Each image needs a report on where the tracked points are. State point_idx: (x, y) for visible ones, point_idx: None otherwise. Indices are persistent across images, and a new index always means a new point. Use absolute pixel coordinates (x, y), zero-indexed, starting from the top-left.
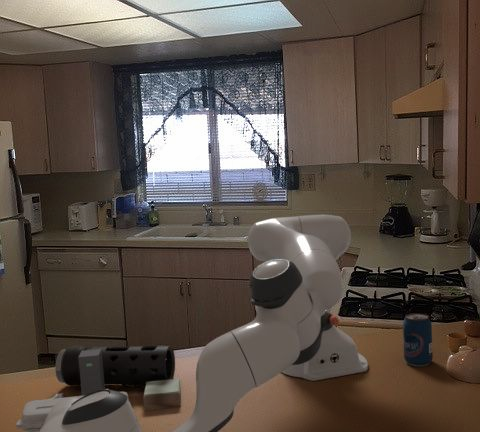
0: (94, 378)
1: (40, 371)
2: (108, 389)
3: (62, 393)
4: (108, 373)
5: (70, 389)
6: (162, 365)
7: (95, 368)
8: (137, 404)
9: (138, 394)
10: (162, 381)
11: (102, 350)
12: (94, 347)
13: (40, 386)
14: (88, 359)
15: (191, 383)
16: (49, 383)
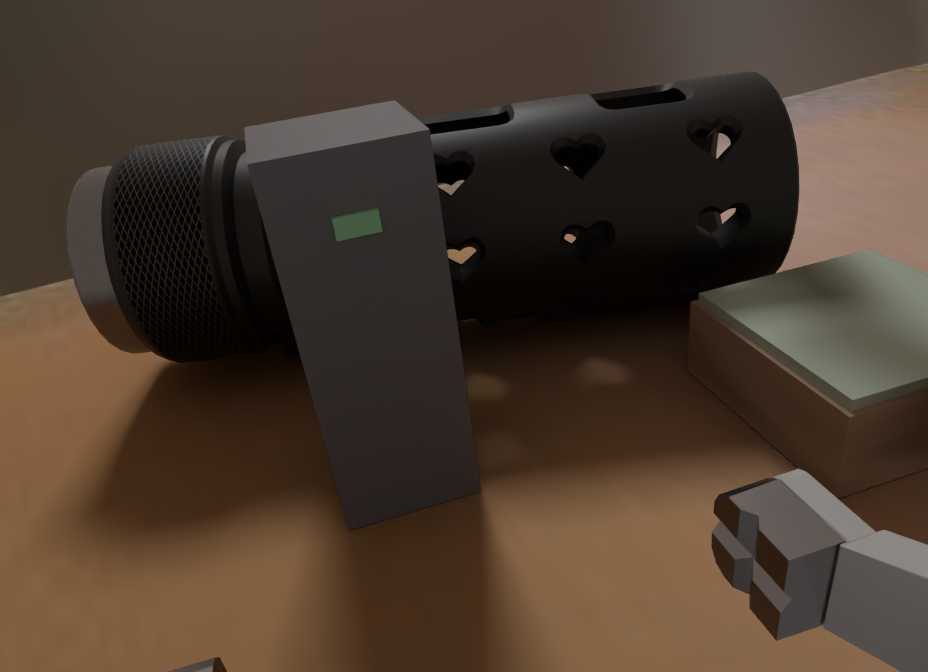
0: (410, 327)
1: (26, 299)
2: (814, 482)
3: (208, 667)
4: None
5: (199, 380)
6: (782, 181)
7: (412, 248)
8: (707, 446)
9: (621, 366)
10: (799, 278)
11: None
12: None
13: (28, 380)
14: (344, 177)
15: None
16: (75, 356)
